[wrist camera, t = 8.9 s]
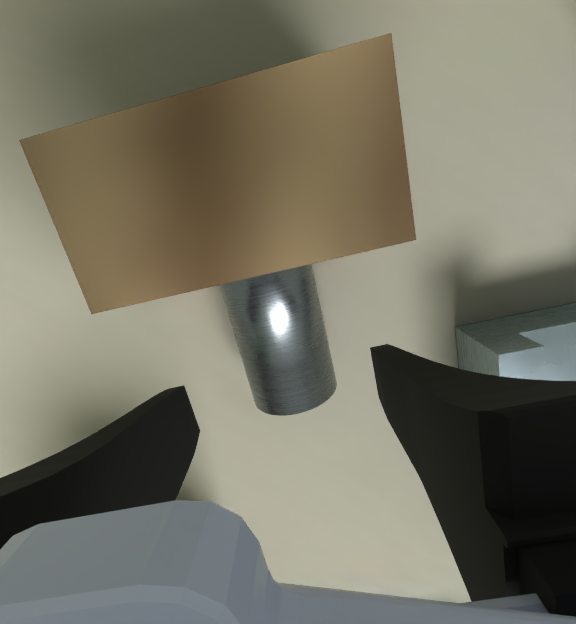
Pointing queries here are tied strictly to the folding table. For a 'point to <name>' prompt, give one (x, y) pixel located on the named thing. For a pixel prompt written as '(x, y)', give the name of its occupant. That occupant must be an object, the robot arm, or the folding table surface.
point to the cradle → (522, 345)
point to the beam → (231, 178)
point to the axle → (282, 340)
